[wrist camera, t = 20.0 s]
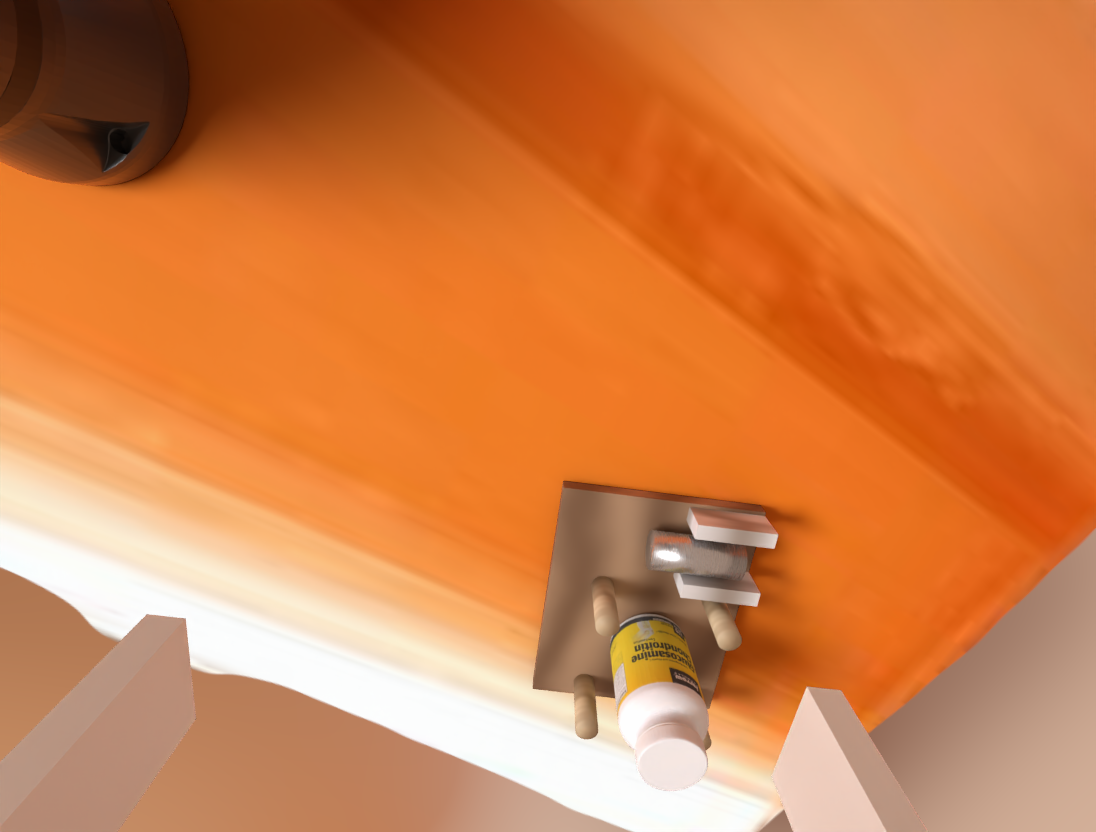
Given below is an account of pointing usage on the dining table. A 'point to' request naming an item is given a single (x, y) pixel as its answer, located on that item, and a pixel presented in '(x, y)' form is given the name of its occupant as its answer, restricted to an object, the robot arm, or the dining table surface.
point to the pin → (694, 556)
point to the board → (637, 587)
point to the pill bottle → (659, 702)
